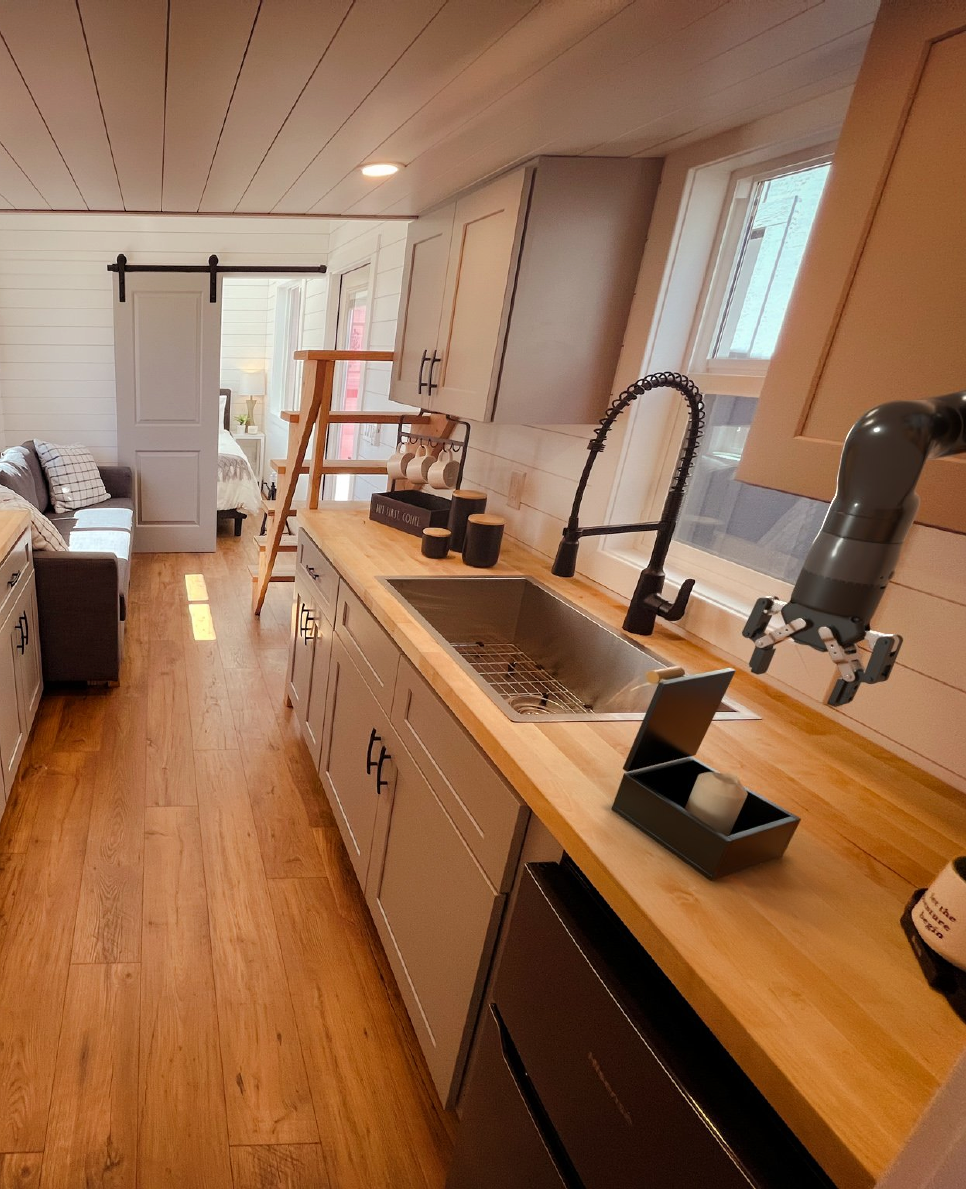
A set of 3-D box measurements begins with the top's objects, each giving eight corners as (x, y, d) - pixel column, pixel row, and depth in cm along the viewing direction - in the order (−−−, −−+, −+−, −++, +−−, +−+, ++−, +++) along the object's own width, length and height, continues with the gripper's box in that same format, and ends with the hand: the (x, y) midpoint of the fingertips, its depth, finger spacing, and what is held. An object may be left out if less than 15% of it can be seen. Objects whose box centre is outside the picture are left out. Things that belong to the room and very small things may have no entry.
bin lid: (736, 670, 93) (698, 652, 98) (664, 684, 89) (628, 664, 93) (695, 755, 100) (662, 734, 104) (627, 772, 95) (595, 750, 100)
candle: (703, 819, 96) (727, 764, 92) (736, 846, 91) (762, 789, 87) (669, 820, 95) (691, 764, 92) (699, 847, 90) (724, 790, 86)
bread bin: (782, 857, 90) (801, 818, 87) (710, 881, 86) (728, 841, 83) (678, 791, 103) (692, 756, 100) (610, 809, 98) (623, 773, 96)
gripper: (758, 556, 82) (716, 667, 88) (905, 595, 70) (844, 722, 76) (796, 551, 85) (753, 660, 91) (944, 588, 72) (883, 711, 78)
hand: (795, 688), depth 83 cm, fingers open, 8 cm apart
